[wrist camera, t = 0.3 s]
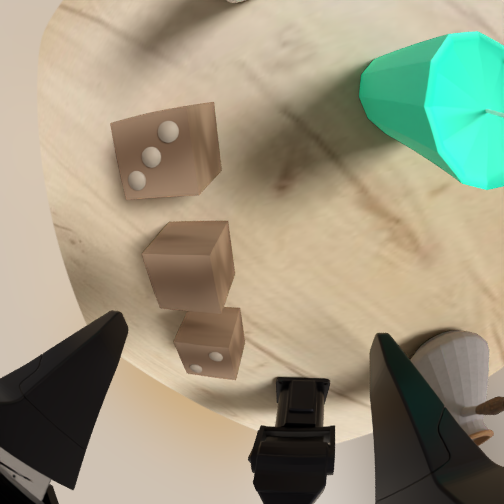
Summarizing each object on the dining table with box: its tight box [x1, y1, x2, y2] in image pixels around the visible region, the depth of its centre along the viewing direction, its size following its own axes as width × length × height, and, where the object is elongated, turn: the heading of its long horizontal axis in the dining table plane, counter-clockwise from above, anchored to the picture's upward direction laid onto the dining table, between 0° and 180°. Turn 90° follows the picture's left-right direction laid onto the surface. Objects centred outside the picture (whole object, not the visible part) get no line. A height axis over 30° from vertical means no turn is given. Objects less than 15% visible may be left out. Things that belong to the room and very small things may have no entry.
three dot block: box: [110, 102, 222, 200], centre depth 17 cm, size 5×5×5 cm
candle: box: [359, 31, 504, 190], centre depth 9 cm, size 6×6×12 cm
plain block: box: [142, 221, 235, 314], centre depth 21 cm, size 5×5×5 cm
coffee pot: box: [410, 330, 504, 446], centre depth 18 cm, size 21×12×15 cm, turn 23°
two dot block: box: [173, 307, 245, 380], centre depth 26 cm, size 5×5×5 cm
